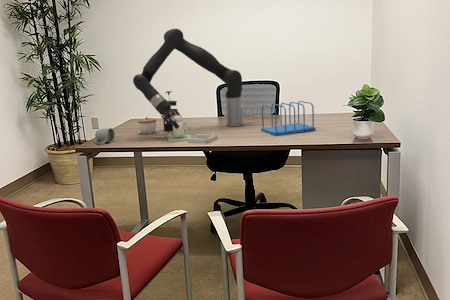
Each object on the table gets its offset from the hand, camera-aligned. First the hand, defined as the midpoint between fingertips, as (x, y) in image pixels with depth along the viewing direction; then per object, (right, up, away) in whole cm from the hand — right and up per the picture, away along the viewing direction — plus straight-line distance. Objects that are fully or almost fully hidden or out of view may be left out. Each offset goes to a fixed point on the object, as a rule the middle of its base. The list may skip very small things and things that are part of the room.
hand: (181, 126), depth 240 cm
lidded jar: (-22, -3, +23) cm, 31 cm away
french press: (-8, -1, +29) cm, 30 cm away
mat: (-1, -7, +2) cm, 7 cm away
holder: (+12, -8, -5) cm, 15 cm away
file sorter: (+59, -2, +10) cm, 60 cm away
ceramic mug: (-41, -9, +2) cm, 42 cm away
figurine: (-1, -5, +2) cm, 6 cm away
